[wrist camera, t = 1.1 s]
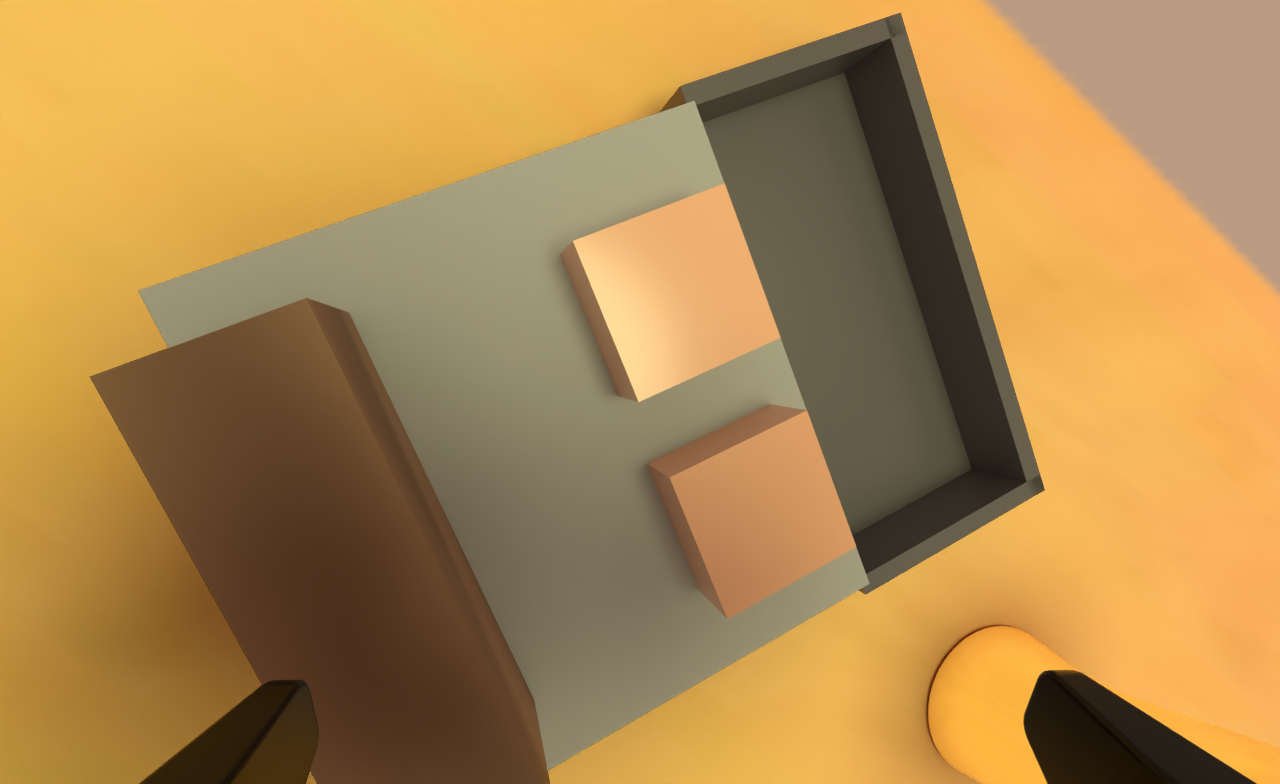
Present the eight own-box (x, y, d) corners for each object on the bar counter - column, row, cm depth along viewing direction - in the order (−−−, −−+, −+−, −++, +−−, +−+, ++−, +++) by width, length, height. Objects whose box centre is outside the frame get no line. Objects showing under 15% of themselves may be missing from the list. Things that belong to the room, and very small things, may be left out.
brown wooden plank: (405, 770, 16) (385, 905, 12) (194, 370, 14) (89, 377, 10) (534, 699, 16) (554, 805, 13) (349, 312, 15) (306, 297, 11)
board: (437, 754, 19) (430, 838, 16) (203, 303, 17) (137, 290, 14) (809, 549, 22) (869, 583, 19) (656, 143, 20) (694, 100, 17)
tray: (814, 563, 23) (865, 594, 20) (649, 124, 20) (680, 86, 17) (975, 473, 24) (1044, 490, 21) (843, 58, 22) (900, 12, 19)
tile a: (699, 589, 18) (727, 619, 16) (646, 463, 17) (669, 477, 15) (816, 526, 18) (856, 546, 17) (770, 403, 18) (806, 410, 16)
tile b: (619, 396, 17) (638, 402, 15) (560, 254, 16) (572, 241, 14) (746, 339, 17) (780, 337, 16) (695, 202, 17) (724, 183, 15)
